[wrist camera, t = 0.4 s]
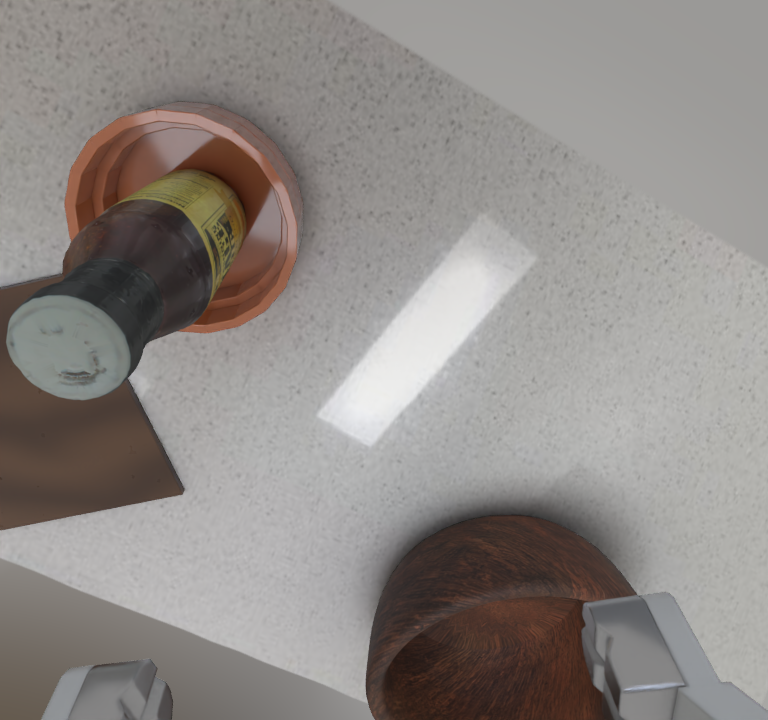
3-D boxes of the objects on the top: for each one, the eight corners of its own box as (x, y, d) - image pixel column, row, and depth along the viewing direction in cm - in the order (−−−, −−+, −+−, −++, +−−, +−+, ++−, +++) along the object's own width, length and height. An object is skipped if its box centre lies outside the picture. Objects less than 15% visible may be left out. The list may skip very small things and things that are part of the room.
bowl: (63, 128, 34) (20, 141, 30) (269, 78, 33) (256, 84, 29) (150, 317, 40) (125, 351, 36) (325, 279, 39) (322, 309, 35)
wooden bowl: (454, 449, 47) (478, 544, 38) (672, 546, 54) (735, 645, 45) (319, 623, 57) (313, 731, 48) (517, 686, 64) (543, 790, 55)
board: (-199, 332, 40) (-206, 336, 39) (72, 271, 38) (69, 274, 38) (-36, 533, 49) (-40, 538, 49) (184, 489, 48) (183, 494, 48)
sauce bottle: (230, 275, 39) (129, 466, 21) (138, 233, 37) (-52, 402, 20) (268, 188, 36) (188, 325, 19) (171, 139, 34) (-15, 238, 17)
